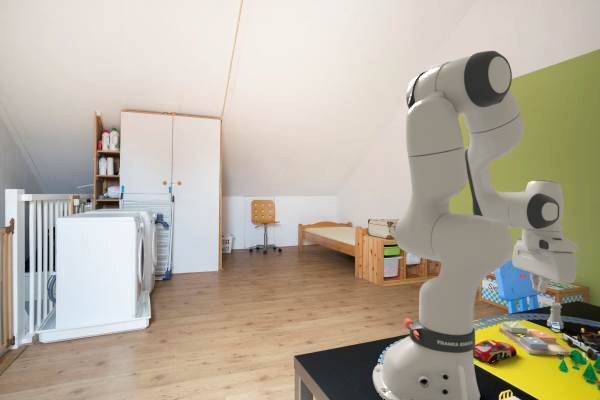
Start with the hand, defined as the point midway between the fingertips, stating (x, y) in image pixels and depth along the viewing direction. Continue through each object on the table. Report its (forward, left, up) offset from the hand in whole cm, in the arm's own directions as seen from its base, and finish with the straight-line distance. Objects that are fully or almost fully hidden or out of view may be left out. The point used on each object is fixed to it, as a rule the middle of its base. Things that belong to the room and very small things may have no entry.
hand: (539, 291), depth 90 cm
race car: (-12, -2, -18) cm, 22 cm away
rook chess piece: (+18, +20, -17) cm, 32 cm away
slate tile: (+1, +3, -16) cm, 16 cm away
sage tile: (+1, +12, -15) cm, 19 cm away
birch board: (+3, +7, -17) cm, 19 cm away
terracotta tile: (+6, +7, -16) cm, 18 cm away
